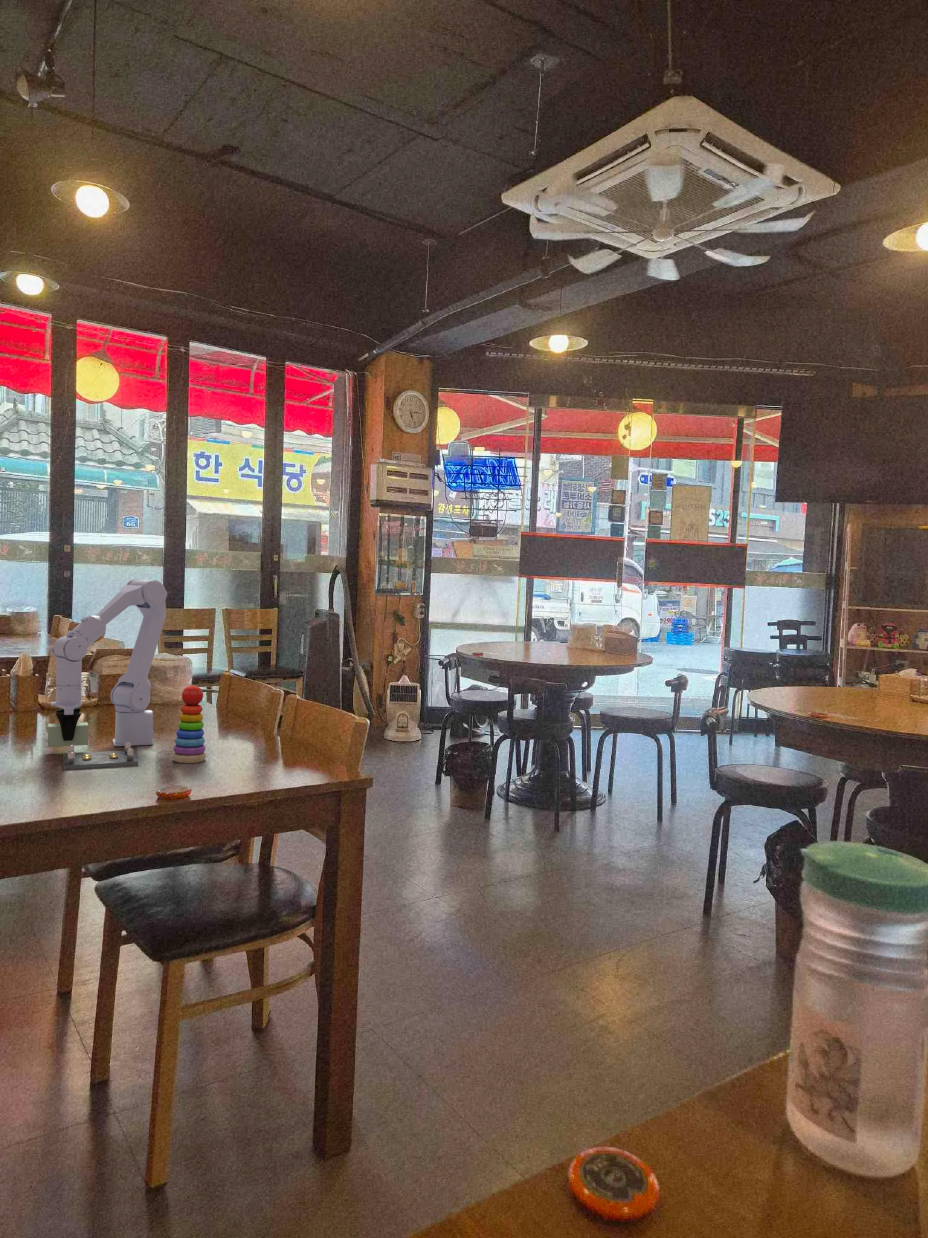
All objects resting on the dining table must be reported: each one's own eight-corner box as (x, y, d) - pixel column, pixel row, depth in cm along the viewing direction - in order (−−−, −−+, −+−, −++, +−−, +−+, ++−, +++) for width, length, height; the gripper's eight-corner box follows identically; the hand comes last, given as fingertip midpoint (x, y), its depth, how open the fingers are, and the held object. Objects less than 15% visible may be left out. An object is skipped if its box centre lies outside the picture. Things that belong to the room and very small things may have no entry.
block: (87, 741, 210) (87, 722, 210) (88, 745, 207) (88, 725, 207) (48, 743, 206) (48, 723, 206) (47, 747, 203) (48, 726, 203)
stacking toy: (174, 765, 199) (176, 688, 198) (169, 758, 206) (171, 683, 205) (208, 763, 203) (210, 687, 202) (202, 756, 210) (204, 682, 209)
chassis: (133, 754, 208) (133, 740, 208) (138, 765, 197) (138, 751, 197) (63, 757, 201) (63, 743, 201) (63, 770, 190) (63, 755, 190)
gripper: (51, 681, 211) (50, 733, 211) (50, 689, 198) (49, 745, 198) (81, 680, 214) (80, 732, 214) (83, 688, 201) (82, 743, 201)
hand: (68, 738), depth 207 cm, fingers closed on block, 4 cm apart
